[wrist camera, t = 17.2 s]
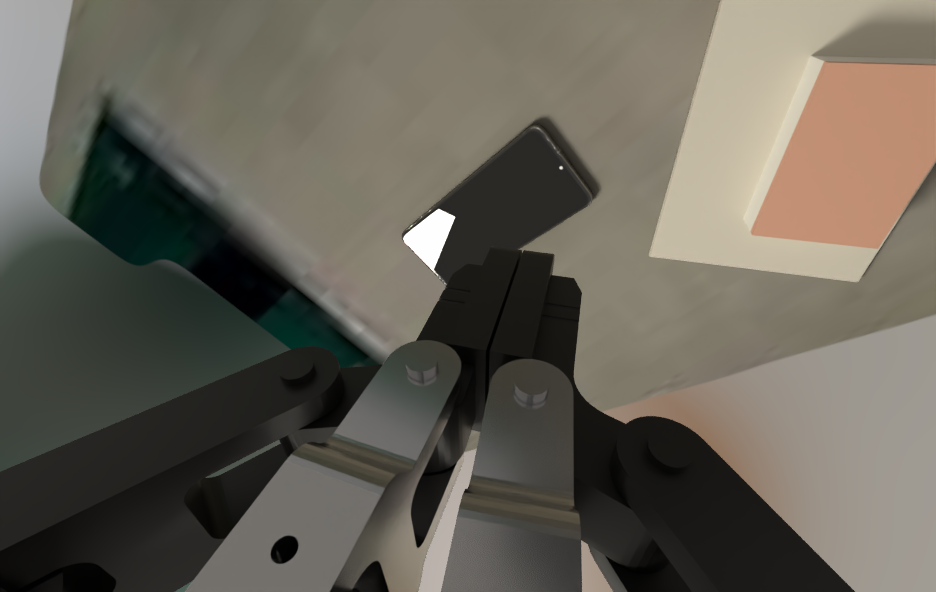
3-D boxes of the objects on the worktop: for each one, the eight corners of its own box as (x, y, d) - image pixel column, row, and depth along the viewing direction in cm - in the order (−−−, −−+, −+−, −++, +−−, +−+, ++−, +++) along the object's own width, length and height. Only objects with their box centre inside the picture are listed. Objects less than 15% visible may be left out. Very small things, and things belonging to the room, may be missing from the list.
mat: (723, -13, 23) (725, -13, 23) (1044, -15, 20) (1051, -15, 20) (648, 253, 34) (649, 256, 33) (855, 279, 30) (857, 282, 30)
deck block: (827, 62, 22) (996, 67, 20) (810, 55, 24) (963, 59, 22) (752, 235, 28) (877, 248, 26) (743, 218, 30) (859, 230, 28)
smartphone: (397, 237, 39) (536, 121, 29) (402, 231, 39) (539, 117, 30) (451, 293, 41) (597, 201, 31) (454, 286, 42) (598, 195, 32)
